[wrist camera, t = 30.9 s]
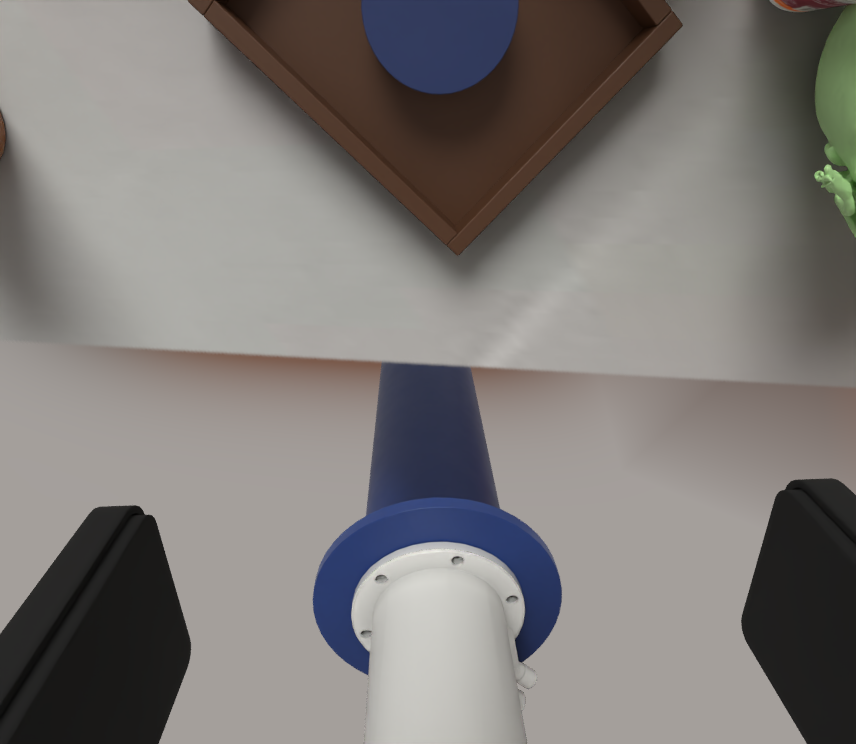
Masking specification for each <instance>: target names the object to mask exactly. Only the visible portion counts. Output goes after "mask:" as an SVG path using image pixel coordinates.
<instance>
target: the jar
mask: <svg viewBox="0 0 856 744" xmlns="http://www.w3.org/2000/svg"><path fill="white" fill-rule="evenodd" d="M4 148H5V126H4V122H3V118H2V115H1V113H0V159H1V157H2V154H3V151H4Z"/></svg>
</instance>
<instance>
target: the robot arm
mask: <svg viewBox="0 0 856 744" xmlns="http://www.w3.org/2000/svg"><path fill="white" fill-rule="evenodd" d="M524 615H525V606H524V598H523V594H522V590H521V586H520V584H519V582H518V580H517V578H516V576H515V575H514V573H513V572H512V571H511V570H510V569H509V568H508V566H507V565H506V564H505V563H503V562H502V561H501V560H499V559H498V558H497V557H495V556H494V555H492V554H490V553H488V552H486V551H484V550H482V549H480V548H476V547H473V546H469V545H466V544H461V543H453V542H427V543H421V544H416V545H411V546H408V547H405V548H402V549H399V550H396V551H394V552H392V553H391V554H389V555H387V556H385V557H383V558H382V559H380V560H379V561H378V562H376V563H375V564H374V565H373V566H371V567H370V568H369V569H368V571H367V572H366V573H365V574H364V575H363V576H362V578H361V579H360V581H359V583H358V585H357V587H356V589H355V593H354V597H353V601H352V613H351V617H352V624H353V628H354V631H355V634H356V636H357V638H358V639H359V641H360V642H361V643H362V645H363V646H364V647H365V649H366V650H368V651H369V652H370V661H369V675H368V690H367V704H366V718H365V733H364V744H527V739H526V734H525V728H524V722H523V717H522V710H523V709H524V706H525V702H526V701H525V700H526V699H525V698H526V697H525V695H524V692H522V691H521V690H519V689H518V688H517V683H519V684H520V685H522V686H523V687H525V688H527V689H530V688H532V687H533V686H534V685H535V683H536V681H537V674H536V672H535V671H534V670H533V669H531V668H530V667H528V666H527V665H525V664H524V663H521V662H519V661H518V656H517V650H516V645H515V638H516V637H517V636H518V634H519V632H520V629H521V627H522V625H523V621H524ZM741 623H742V631H743V634H744V637H745V640H746V642H747V644H748V646H749V647H750V649H751V650H752V652H753V654H754V655H755V657H756V659H757V661H758V662H759V664H760V665H761V667H762V669H763V671H764V672H765V674H766V676H767V677H768V679H769V681H770V682H771V684H772V686H773V687H774V689H775V691H776V693H777V694H778V696H779V697H780V699H781V701H782V703H783V704H784V706H785V708H786V709H787V711H788V713H789V714H790V716H791V718H792V719H793V721H794V723H795V724H796V726H797V728H798V729H799V731H800V733H801V734H802V736H803V738H804V739H805V741H806V743H807V744H856V495H855V494H854V493H853V492H852V491H851V490H849V489H848V488H847V487H846V486H845V485H844V484H843V483H841V482H840V481H838V480H836V479H806V480H794V481H791V482H790V483H789V484H788V485H787V487H786V489H785V490H782V491H780V492H779V493H778V494H777V496H776V498H775V501H774V504H773V508H772V511H771V515H770V519H769V522H768V526H767V529H766V533H765V536H764V540H763V544H762V547H761V551H760V554H759V558H758V561H757V565H756V568H755V572H754V575H753V579H752V583H751V586H750V590H749V593H748V596H747V600H746V603H745V607H744V611H743V614H742V620H741ZM190 654H191V642H190V637H189V634H188V630H187V627H186V623H185V620H184V616H183V613H182V610H181V606H180V603H179V599H178V596H177V592H176V589H175V586H174V582H173V578H172V575H171V571H170V568H169V565H168V561H167V558H166V554H165V551H164V547H163V544H162V541H161V537H160V533H159V530H158V526H157V523H156V521H155V518H154V517H153V516H152V515H145V514H144V512H143V510H142V509H141V508H140V507H139V506H111V507H110V506H109V507H98V508H95V509H94V510H93V511H92V512H91V513H90V514H89V515H88V516H87V518H86V519H85V520H84V522H83V523H82V524H81V526H80V527H79V528H78V530H77V531H76V533H75V534H74V535H73V537H72V538H71V539H70V541H69V542H68V543H67V545H66V546H65V547H64V549H63V550H62V551H61V553H60V554H59V555H58V557H57V558H56V560H55V561H54V562H53V564H52V565H51V566H50V568H49V569H48V571H47V572H46V573H45V574H44V576H43V577H42V578H41V580H40V581H39V583H38V584H37V585H36V587H35V588H34V589H33V591H32V592H31V593H30V595H29V596H28V597H27V599H26V600H25V602H24V603H23V604H22V605H21V607H20V608H19V610H18V611H17V612H16V614H15V615H14V617H13V618H12V619H11V620H10V622H9V623H8V624H7V626H6V627H5V628H4V630H3V631H2V633H1V634H0V744H158V743H159V741H160V738H161V736H162V733H163V731H164V728H165V725H166V723H167V720H168V717H169V715H170V712H171V709H172V707H173V704H174V701H175V699H176V696H177V694H178V691H179V688H180V686H181V683H182V680H183V678H184V675H185V673H186V670H187V667H188V664H189V660H190Z"/></svg>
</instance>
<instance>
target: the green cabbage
mask: <svg viewBox="0 0 856 744" xmlns="http://www.w3.org/2000/svg"><path fill="white" fill-rule="evenodd" d="M815 107H816V115H817V118H818V121H819V125H820V127H821V129H822V131H823V132H824V134H825V135H826V137H827V139H828V143H827V144H826V145H825V147H824V151H825V154H826V156H827V158H828V159H829V160H830V161H831V162H832V163H833V164H835V165H837V166H847V168H848V170H846V171H842V172H837V171H836V170H832V168H831V166H830V165H826V166H825V167H824V172H822V171H817V172H816V173H815V175H814V177H815V179H816V180H817V181H818V182H821V183H822V186H821V188H824V187H825V188H826V189H827V191H828V192H830V193H835V196H834V201H835V203H836V205H837V207H838V208H839V210H840V212H841V214H842V215H843V217H844V219H845V220H846V222H847V224H848V226H849V228H850V230H851V231H852V233H853V235H854V237H855V238H856V4H850V5H847V6H846V7H845V8H844V10H843V12H842V13H841V15H840V17H839V18H838V20H837V22H836V23H835V25H834V27H833V28H832V30H831V32H830V34H829V36H828V38H827V41H826V43H825V46H824V49H823V52H822V55H821V58H820V62H819V66H818V71H817V77H816V84H815Z"/></svg>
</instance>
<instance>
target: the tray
mask: <svg viewBox="0 0 856 744" xmlns="http://www.w3.org/2000/svg"><path fill="white" fill-rule="evenodd" d="M188 2H189V3H190V4H191V5H192V6H193V7H194V8H195V9H196V10H197V11H199V12H200V13H201V14H202V15H204V17H205V18H206V19H207V20H208V21H209V22H210V23H211V24H212V25H213V26H214V27H215V28H216V29H217V30H219V31H220V32H221V33H222V34H223V35H224V36H225V37H226V38H227V39H228V40H229V41H230V42H231V43H232V44H233V45H234V46H235V47H237V48H238V49H239V50H240V51H241V52H242V53H243V54H244V55H245V56H246V57H247V58H248V59H249V60H250V61H251V62H252V63H254V64H255V65H256V66H257V67H258V68H259V69H260V70H261V71H262V72H263V73H264V74H265V75H266V76H267V77H268V78H269V79H270V80H272V81H273V82H274V83H275V84H276V85H277V86H278V87H279V88H280V89H281V90H282V91H283V92H284V93H285V94H286V95H287V96H288V97H290V98H291V99H292V100H293V101H294V102H295V103H296V104H297V105H298V106H299V107H300V108H301V109H302V110H303V111H304V112H305V113H306V114H308V115H309V116H310V117H311V118H312V119H313V120H314V121H315V122H316V123H317V124H318V125H319V126H320V127H321V128H322V129H323V130H324V131H326V132H327V133H328V134H329V135H330V136H331V137H332V138H333V139H334V140H335V141H336V142H337V143H338V144H339V145H340V146H341V147H342V148H344V149H345V150H346V151H347V152H348V153H349V154H350V155H351V156H352V157H353V158H354V159H355V160H356V161H357V162H358V163H359V164H361V165H362V166H363V167H364V168H365V169H366V170H367V171H368V172H369V173H370V174H371V175H372V176H373V177H374V178H375V179H376V180H377V181H379V182H380V183H381V184H382V185H383V186H384V187H385V188H386V189H387V190H388V191H389V192H390V193H391V194H392V195H393V196H394V197H395V198H397V199H398V200H399V201H400V202H401V203H402V204H403V205H404V206H405V207H406V208H407V209H408V210H409V211H410V212H411V213H412V214H413V215H415V216H416V217H417V218H418V219H419V220H420V221H421V222H422V223H423V224H424V225H425V226H426V227H427V228H428V229H429V230H430V231H431V232H433V233H434V234H435V235H436V236H437V237H438V238H439V239H440V240H441V241H442V242H443V243H444V244H445V245H447V247H449V248H450V249H451V250H452V251H453V252H454V253H455V254H456V255H460V254H461V253H462V252H463V251H464V250H465V248H466V247H467V246H468V245H469V244H470V243H471V242H472V241H473V240H474V239H475V238H476V237H477V236H478V235H479V234H480V233H481V232H482V231H483V230H484V229H485V228H486V227H487V226H488V225H489V224H490V223H491V222H492V221H493V220H494V219H495V218H496V217H497V216H498V215H499V214H500V213H501V212H502V211H503V210H504V209H505V208H506V206H507V205H508V204H509V203H510V202H511V201H512V200H513V199H514V198H515V197H516V196H517V195H518V194H519V193H520V192H521V191H522V190H523V189H524V188H525V187H526V186H527V185H528V184H529V183H530V182H531V181H532V180H533V179H534V178H535V177H536V176H537V175H538V174H539V173H540V172H541V171H542V170H543V169H544V168H545V167H546V166H547V164H548V163H549V162H550V161H551V160H552V159H553V158H554V157H555V156H556V155H557V154H558V153H559V152H560V151H561V150H562V149H563V148H564V147H565V146H566V145H567V144H568V143H569V142H570V141H571V140H572V139H573V138H574V137H575V136H576V135H577V134H578V133H579V132H580V131H581V130H582V129H583V128H584V127H585V126H586V125H587V124H588V122H589V121H590V120H591V119H592V118H593V117H594V116H595V115H596V114H597V113H598V112H599V111H600V110H601V109H602V108H603V107H604V106H605V105H606V104H607V103H608V102H609V101H610V100H611V99H612V98H613V97H614V96H615V95H616V94H617V93H618V92H619V91H620V90H621V89H622V88H623V87H624V86H625V85H626V84H627V83H628V82H629V80H630V79H631V78H632V77H633V76H634V75H635V74H636V73H637V72H638V71H639V70H640V69H641V68H642V67H643V66H644V65H645V64H646V63H647V62H648V61H649V60H650V59H651V58H652V57H653V56H654V55H655V54H656V53H657V52H658V51H659V50H660V49H661V48H662V47H663V46H664V45H665V44H666V43H667V42H668V41H669V40H670V38H671V37H672V36H673V35H674V34H675V33H676V32H677V31H678V30H679V29H680V28H681V27H682V26H683V25H682V23H681V22H680V20H679V19H678V18H677V16H676V15H675V14H674V12H673V11H671V8H670V7H669V5H668V4H667V3H666V1H665V0H519V9H518V19H517V24H516V28H515V32H514V35H513V38H512V41H511V43H510V45H509V47H508V49H507V51H506V53H505V55H504V56H503V58H502V60H501V61H500V62H499V64H498V65H497V66H496V67H495V69H494V70H493V71H492V72H491V73H490V74H489V75H488V76H487V77H485V78H484V79H483V80H481V81H480V82H479V83H477V84H475V85H473V86H472V87H470V88H468V89H465V90H462V91H460V92H456V93H451V94H442V95H438V94H428V93H423V92H419V91H417V90H414V89H411V88H409V87H407V86H406V85H404V84H402V83H401V82H399V81H398V80H396V79H395V78H394V77H393V76H392V75H391V74H390V73H388V72H387V71H386V69H385V68H384V67H383V66H382V65H381V63H380V62H379V60H378V59H377V57H376V56H375V54H374V52H373V50H372V48H371V46H370V44H369V42H368V39H367V36H366V33H365V29H364V25H363V20H362V11H361V0H188Z"/></svg>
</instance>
